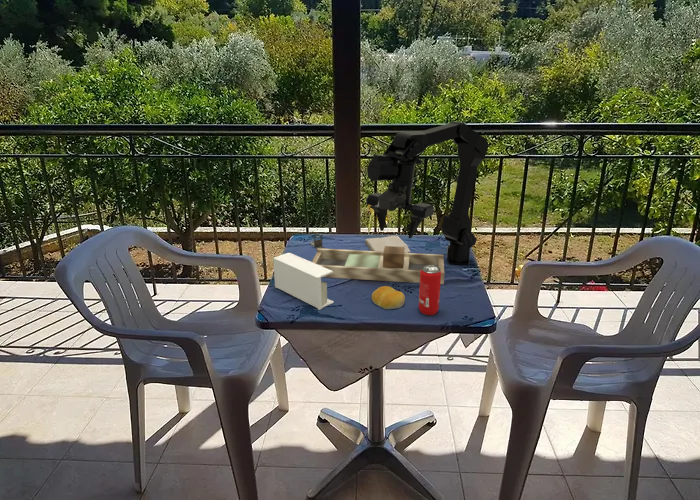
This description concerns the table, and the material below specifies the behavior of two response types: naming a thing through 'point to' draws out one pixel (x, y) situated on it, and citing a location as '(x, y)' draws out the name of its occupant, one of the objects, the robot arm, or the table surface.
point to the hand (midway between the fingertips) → (395, 234)
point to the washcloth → (385, 243)
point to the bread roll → (388, 298)
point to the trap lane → (375, 265)
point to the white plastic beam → (301, 279)
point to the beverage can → (429, 289)
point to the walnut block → (393, 257)
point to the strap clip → (317, 243)
